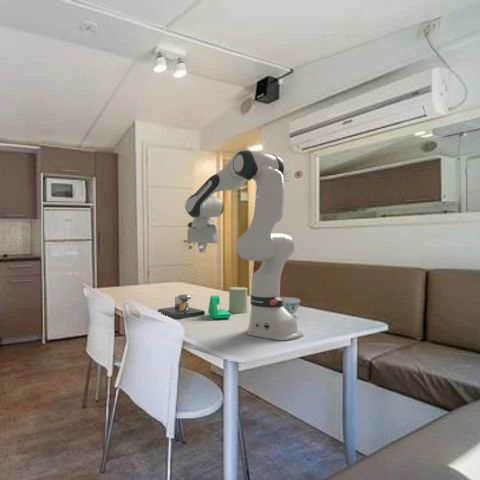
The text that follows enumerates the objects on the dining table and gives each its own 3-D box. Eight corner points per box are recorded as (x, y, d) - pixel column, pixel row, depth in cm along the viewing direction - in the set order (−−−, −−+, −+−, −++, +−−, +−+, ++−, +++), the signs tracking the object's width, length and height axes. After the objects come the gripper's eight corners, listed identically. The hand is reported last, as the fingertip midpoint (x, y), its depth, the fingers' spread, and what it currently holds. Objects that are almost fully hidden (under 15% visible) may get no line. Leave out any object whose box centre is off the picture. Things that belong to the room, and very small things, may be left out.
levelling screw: (180, 309, 197) (180, 294, 197) (191, 309, 197) (191, 294, 196) (175, 313, 185) (175, 298, 185) (187, 314, 185) (187, 298, 185)
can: (250, 310, 206) (250, 286, 206) (242, 314, 198) (243, 289, 198) (233, 309, 210) (234, 285, 210) (225, 312, 202) (225, 287, 201)
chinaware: (276, 311, 204) (276, 296, 204) (305, 315, 197) (305, 298, 197) (262, 316, 192) (262, 300, 191) (292, 320, 184) (292, 303, 184)
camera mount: (231, 319, 186) (231, 296, 185) (214, 320, 183) (214, 297, 183) (223, 314, 197) (224, 293, 197) (208, 315, 195) (208, 293, 194)
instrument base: (204, 315, 194) (204, 298, 194) (180, 319, 185) (180, 301, 185) (182, 309, 207) (182, 294, 207) (158, 313, 198) (158, 297, 198)
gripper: (221, 224, 199) (220, 252, 199) (195, 224, 214) (194, 251, 214) (211, 223, 194) (210, 253, 195) (185, 224, 209) (185, 251, 209)
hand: (202, 252), depth 204 cm, fingers closed
